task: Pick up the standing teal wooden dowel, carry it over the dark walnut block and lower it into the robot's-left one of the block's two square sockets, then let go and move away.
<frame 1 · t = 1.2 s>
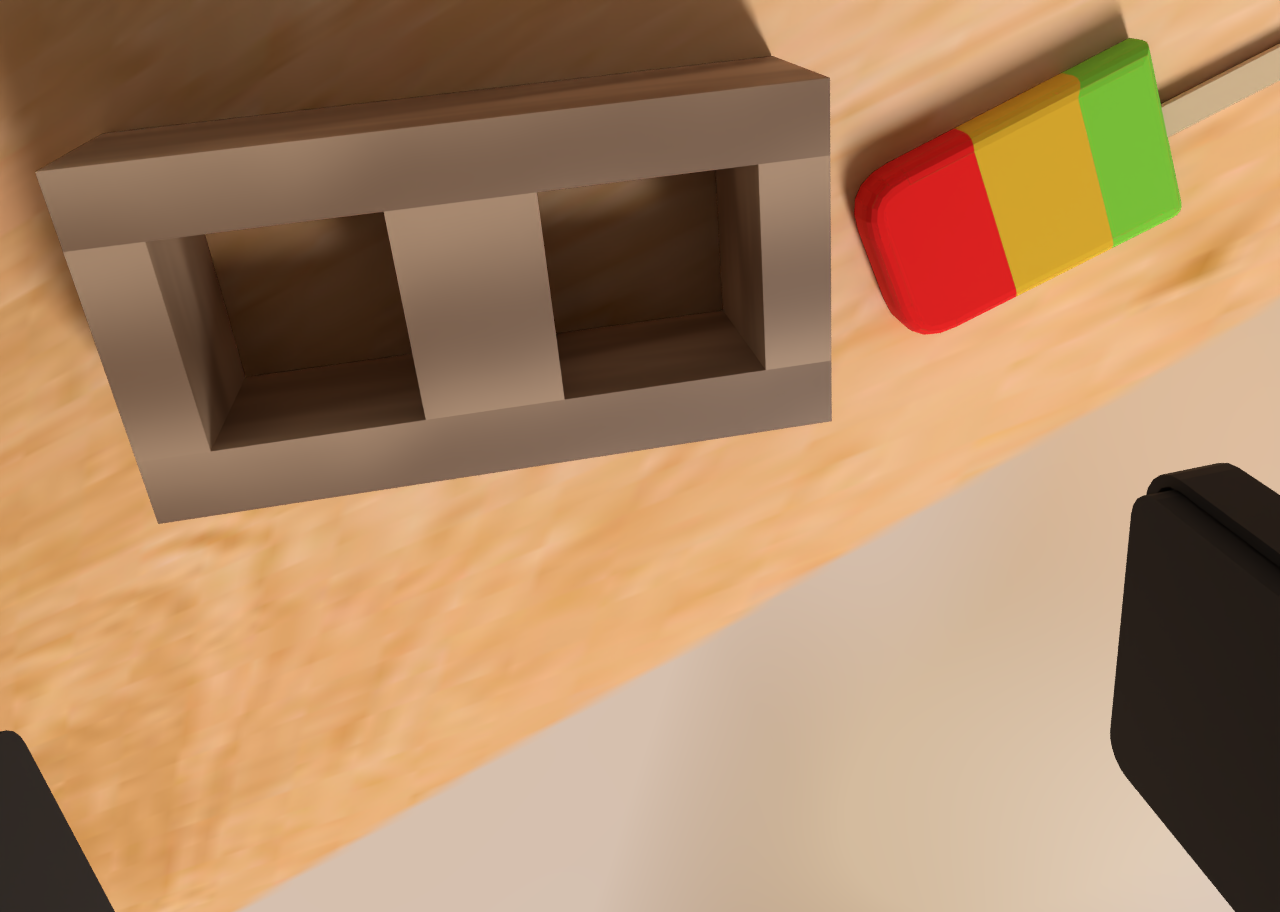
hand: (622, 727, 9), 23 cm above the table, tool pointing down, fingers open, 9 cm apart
socket block: (475, 255, 30), on the table
popsicle: (1080, 148, 33), on the table
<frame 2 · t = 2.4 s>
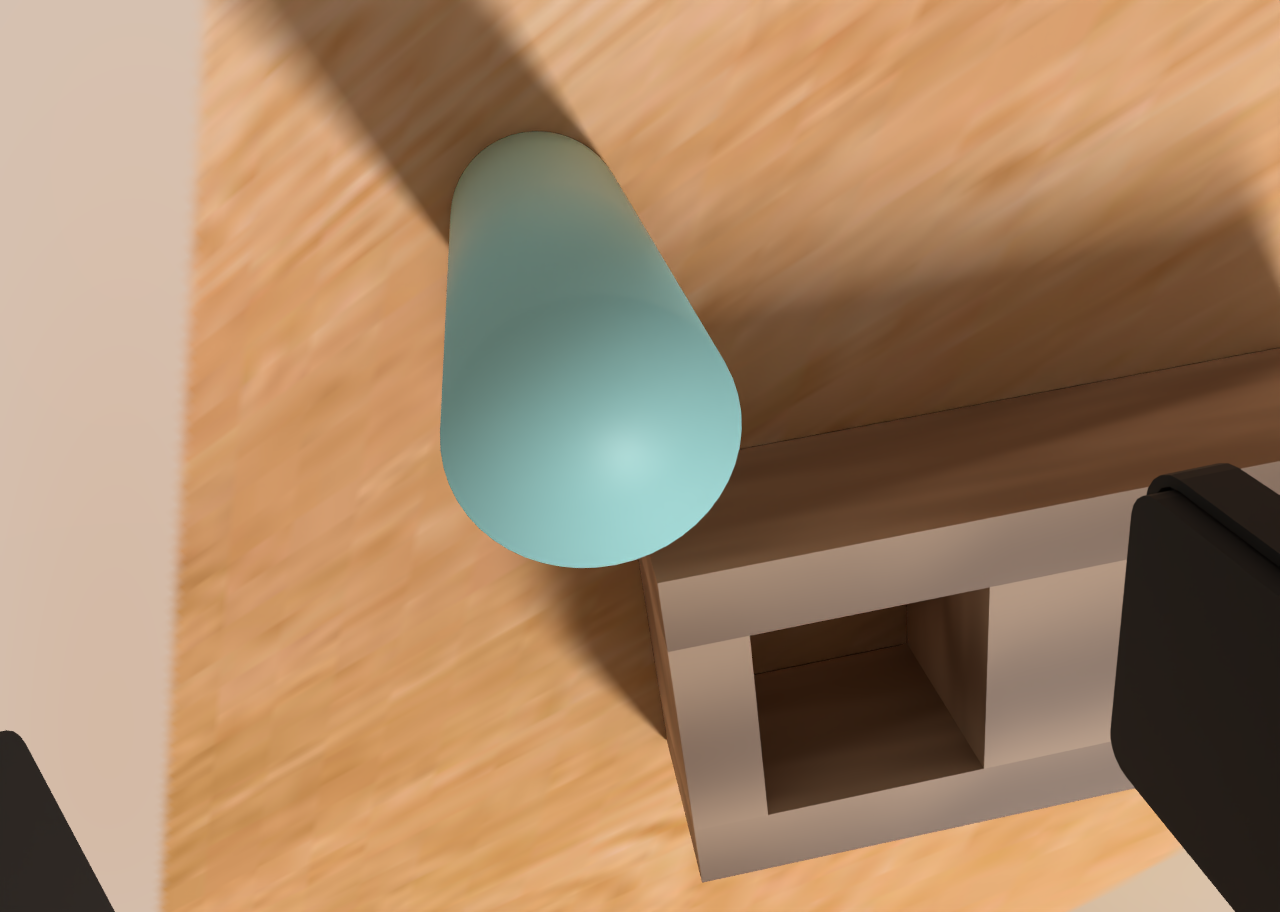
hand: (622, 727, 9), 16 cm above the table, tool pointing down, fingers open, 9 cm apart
socket block: (969, 552, 29), on the table
dowel: (538, 220, 23), on the table
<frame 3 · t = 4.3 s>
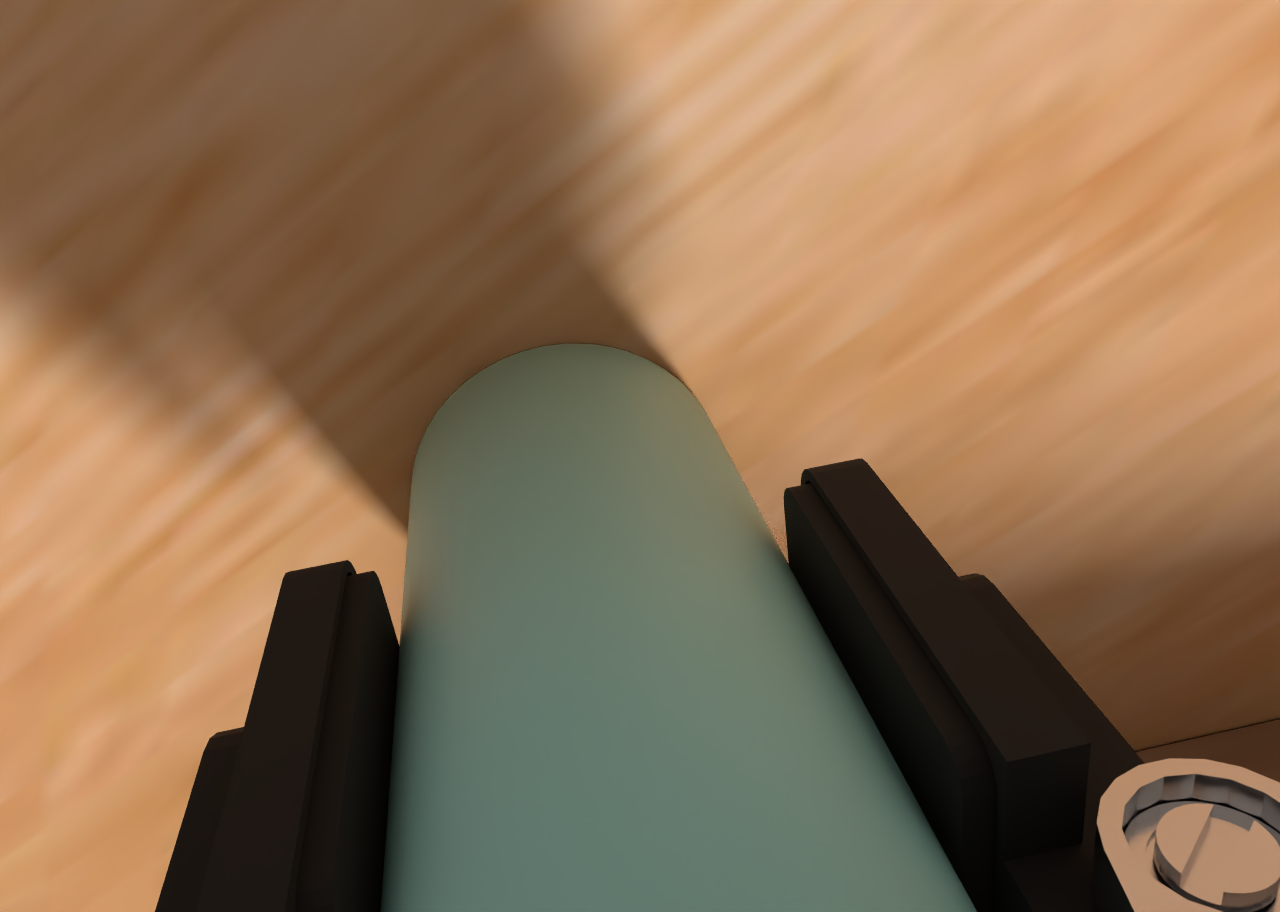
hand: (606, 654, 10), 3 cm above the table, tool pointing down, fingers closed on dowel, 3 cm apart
dowel: (570, 490, 13), on the table, touching gripper
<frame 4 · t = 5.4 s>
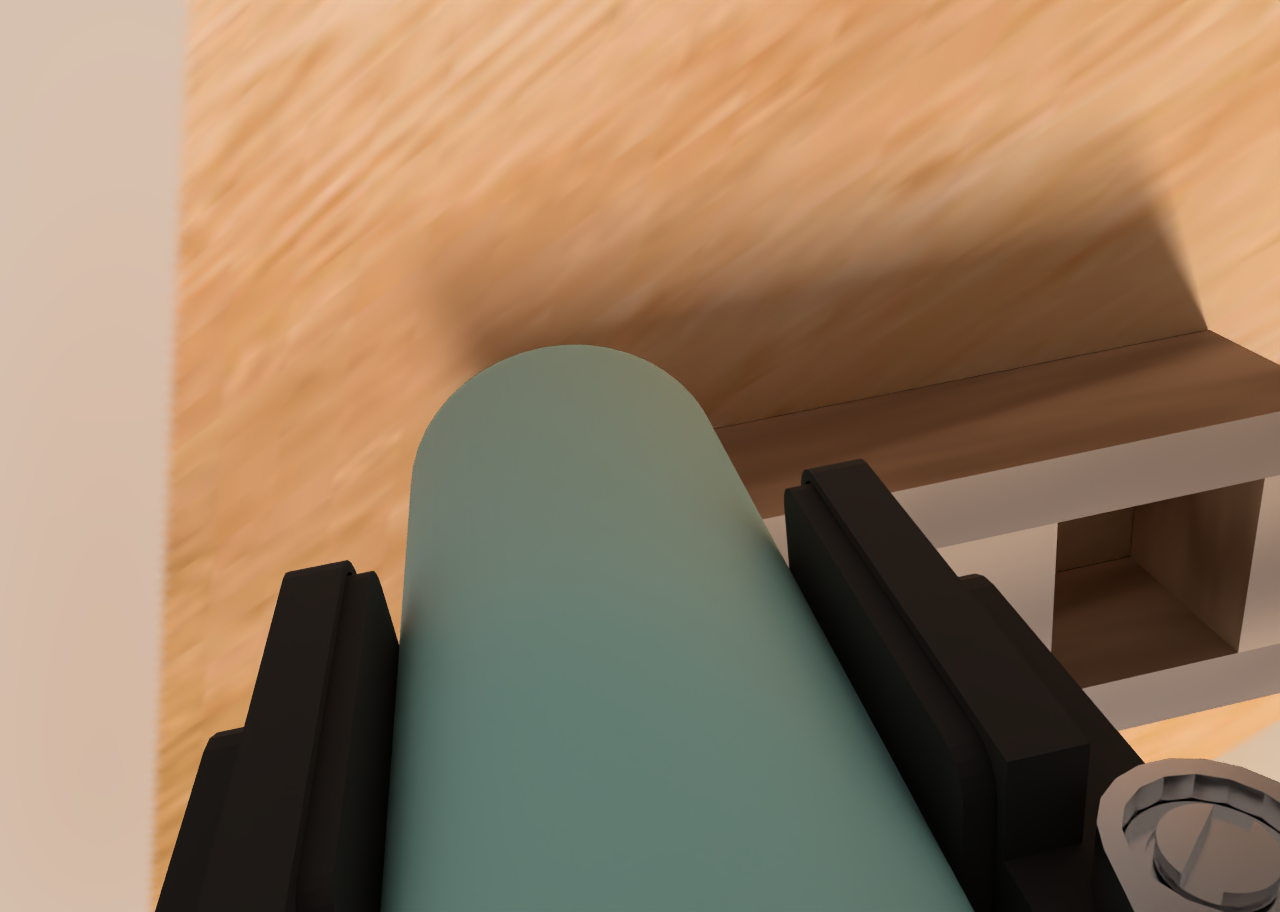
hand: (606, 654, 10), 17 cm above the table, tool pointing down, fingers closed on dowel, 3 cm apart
socket block: (907, 530, 31), on the table
dowel: (570, 491, 13), point 14 cm above the table, touching gripper
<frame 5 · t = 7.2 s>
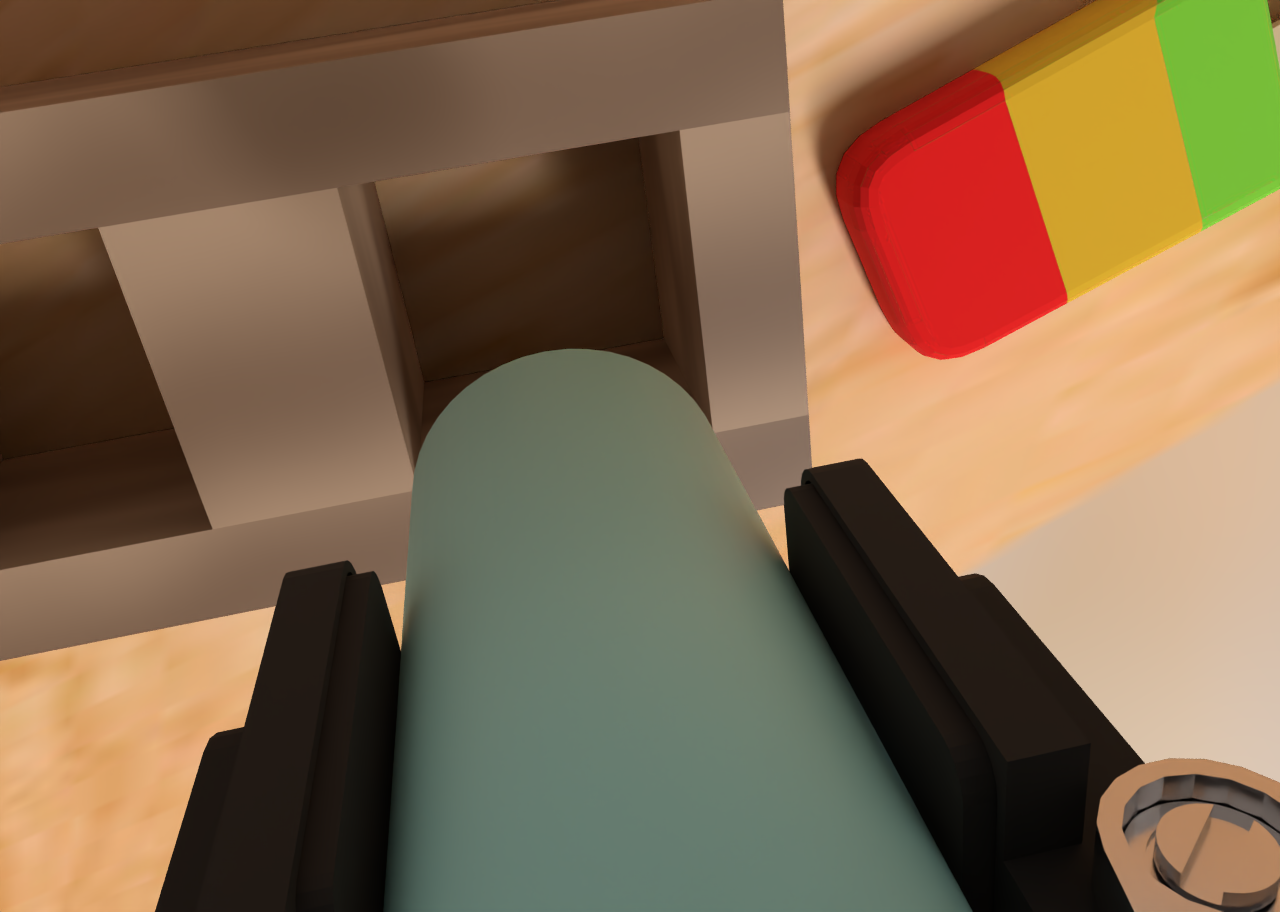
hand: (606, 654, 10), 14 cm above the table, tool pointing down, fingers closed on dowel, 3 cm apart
socket block: (307, 279, 22), on the table
dowel: (571, 495, 13), point 11 cm above the table, touching gripper
popsicle: (1151, 93, 23), on the table
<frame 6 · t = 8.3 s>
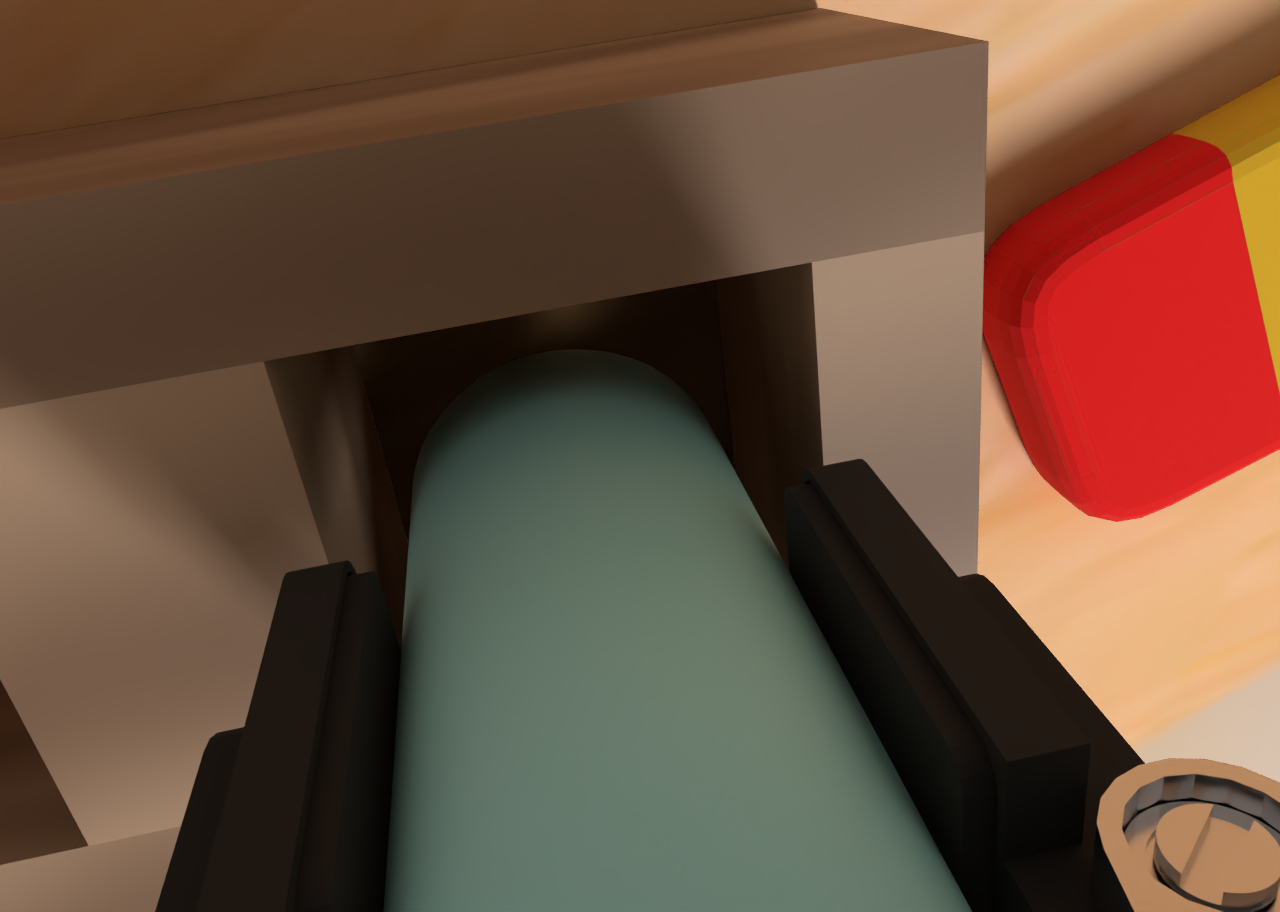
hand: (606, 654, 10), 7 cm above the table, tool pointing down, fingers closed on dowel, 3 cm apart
socket block: (248, 429, 15), on the table
dowel: (571, 495, 13), point 4 cm above the table, touching gripper
when the fingers open (6 cm above the table, at t = 8.7 s): dowel drops 3 cm, resting in socket block.
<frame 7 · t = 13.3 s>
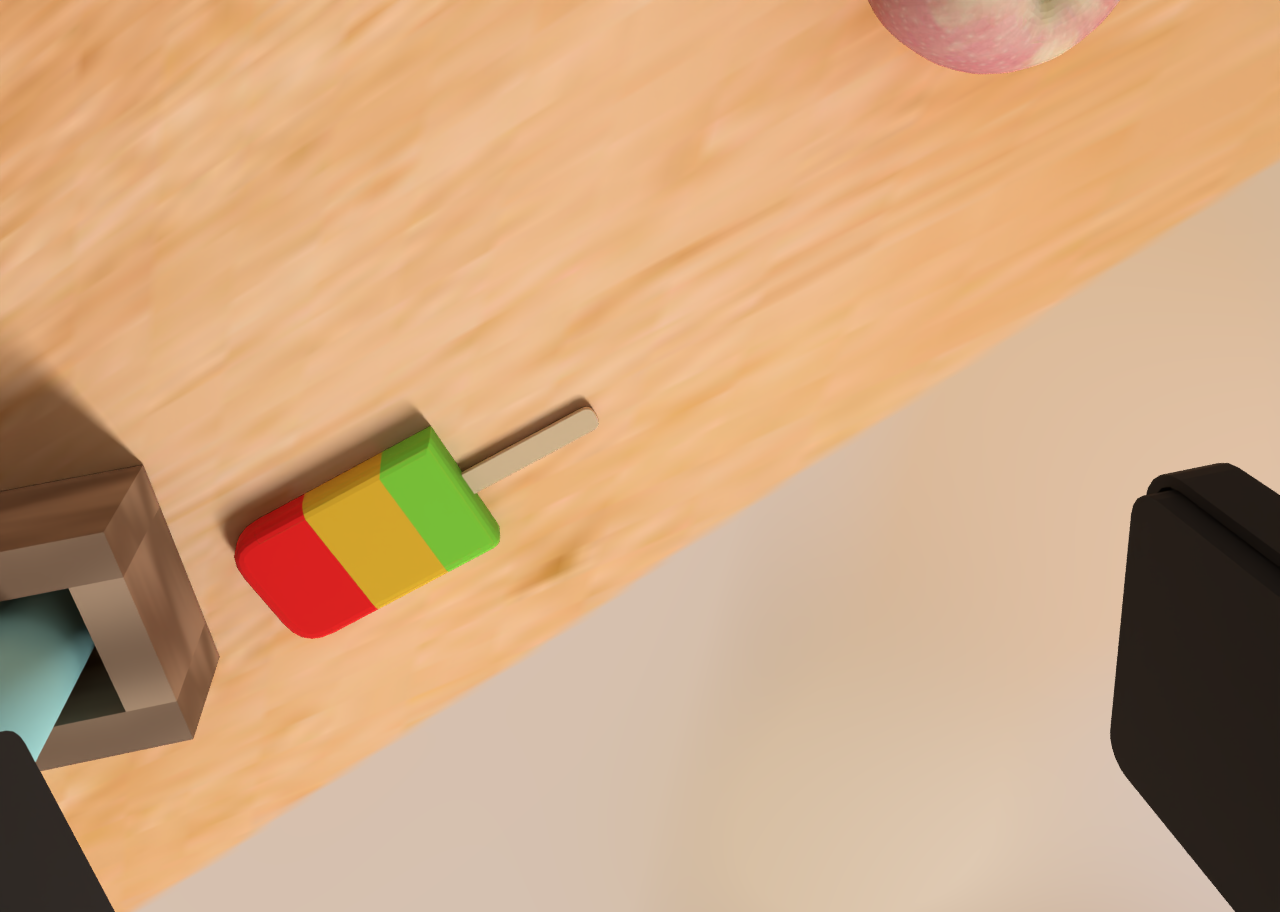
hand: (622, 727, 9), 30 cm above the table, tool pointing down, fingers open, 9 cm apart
dowel: (65, 588, 40), resting in socket block
popsicle: (429, 491, 42), on the table
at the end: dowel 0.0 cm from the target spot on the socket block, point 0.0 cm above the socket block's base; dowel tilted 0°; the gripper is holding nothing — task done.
